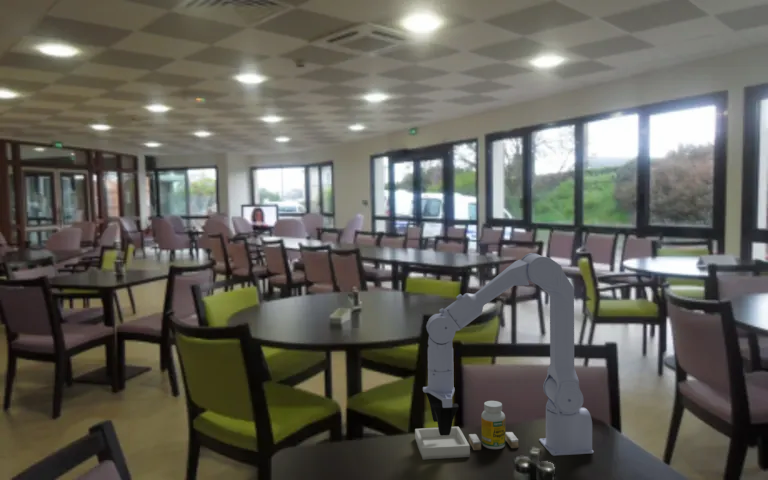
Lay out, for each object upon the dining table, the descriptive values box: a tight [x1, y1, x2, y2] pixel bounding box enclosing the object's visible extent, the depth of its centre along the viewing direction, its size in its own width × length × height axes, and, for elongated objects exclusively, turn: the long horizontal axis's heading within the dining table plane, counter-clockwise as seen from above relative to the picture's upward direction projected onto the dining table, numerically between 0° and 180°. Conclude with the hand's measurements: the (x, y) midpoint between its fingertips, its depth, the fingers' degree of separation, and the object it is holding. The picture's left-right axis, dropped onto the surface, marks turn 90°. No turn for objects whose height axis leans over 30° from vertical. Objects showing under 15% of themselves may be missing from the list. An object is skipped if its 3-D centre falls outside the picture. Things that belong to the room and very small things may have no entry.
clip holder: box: [468, 431, 519, 451], centre depth 124 cm, size 10×4×2 cm, turn 95°
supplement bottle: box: [480, 400, 506, 450], centre depth 123 cm, size 5×5×10 cm
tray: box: [414, 426, 471, 460], centre depth 122 cm, size 10×10×2 cm
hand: (441, 427), depth 122 cm, fingers open, 7 cm apart
